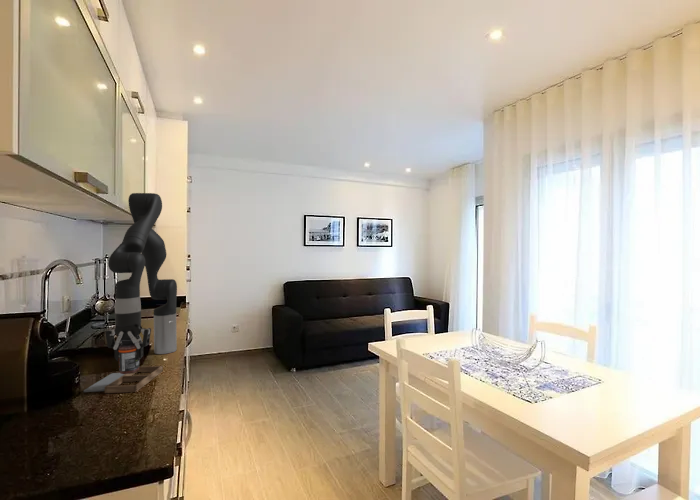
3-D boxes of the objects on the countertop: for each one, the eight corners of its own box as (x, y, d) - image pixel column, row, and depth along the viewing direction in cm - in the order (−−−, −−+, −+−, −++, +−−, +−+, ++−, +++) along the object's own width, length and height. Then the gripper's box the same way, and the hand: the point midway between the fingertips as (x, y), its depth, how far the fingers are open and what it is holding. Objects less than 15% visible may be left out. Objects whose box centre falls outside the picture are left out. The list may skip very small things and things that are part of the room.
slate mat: (112, 374, 131) (112, 373, 131) (129, 374, 131) (129, 372, 131) (83, 392, 115) (83, 390, 115) (103, 391, 115) (103, 389, 115)
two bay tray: (136, 372, 133) (135, 366, 133) (162, 371, 134) (162, 365, 134) (104, 393, 114) (104, 387, 114) (136, 391, 114) (136, 385, 114)
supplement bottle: (120, 370, 121) (120, 337, 121) (140, 367, 123) (139, 335, 123) (117, 375, 115) (116, 341, 115) (138, 372, 118) (137, 339, 118)
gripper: (155, 308, 124) (156, 355, 124) (112, 309, 122) (113, 356, 122) (144, 312, 116) (145, 362, 116) (99, 313, 115) (100, 364, 115)
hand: (129, 359), depth 119 cm, fingers closed on supplement bottle, 6 cm apart
